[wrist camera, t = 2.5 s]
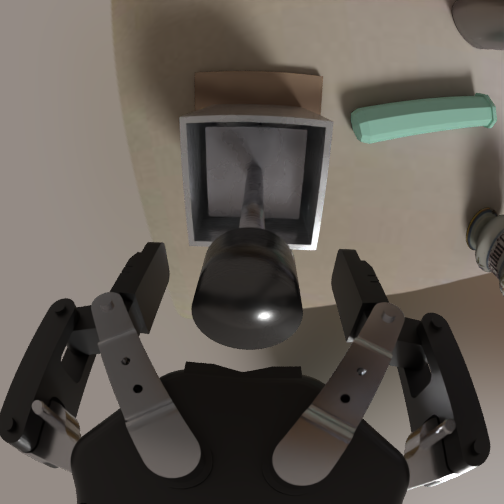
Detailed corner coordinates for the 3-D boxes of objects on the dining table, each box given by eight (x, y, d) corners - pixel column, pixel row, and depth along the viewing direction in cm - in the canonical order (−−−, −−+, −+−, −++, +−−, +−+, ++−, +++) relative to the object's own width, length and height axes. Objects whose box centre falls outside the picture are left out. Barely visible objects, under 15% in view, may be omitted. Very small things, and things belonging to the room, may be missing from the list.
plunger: (206, 126, 21) (109, 208, 7) (306, 129, 21) (391, 217, 7) (209, 213, 26) (160, 367, 12) (297, 216, 26) (332, 374, 12)
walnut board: (196, 73, 29) (194, 72, 28) (320, 76, 29) (322, 76, 28) (201, 208, 40) (199, 212, 39) (308, 212, 40) (309, 215, 39)
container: (364, 145, 29) (501, 125, 23) (348, 100, 28) (488, 88, 22) (355, 152, 34) (482, 130, 29) (341, 113, 33) (470, 97, 28)
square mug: (211, 104, 31) (175, 117, 17) (301, 107, 31) (333, 121, 17) (213, 199, 38) (188, 268, 25) (294, 202, 38) (311, 272, 25)
